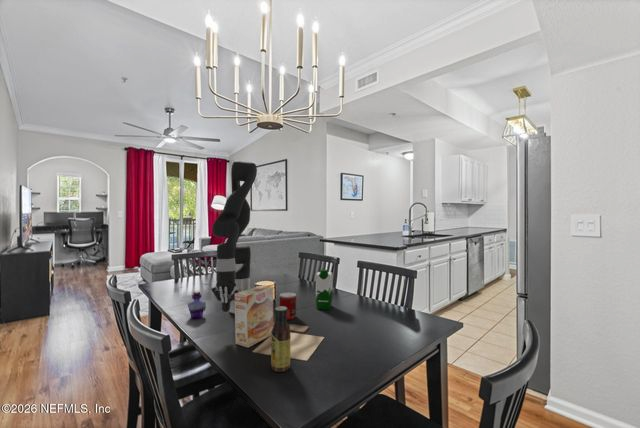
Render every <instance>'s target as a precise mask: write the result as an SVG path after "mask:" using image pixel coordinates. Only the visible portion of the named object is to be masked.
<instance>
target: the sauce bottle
mask: <svg viewBox="0 0 640 428" xmlns="http://www.w3.org/2000/svg"><path fill="white" fill-rule="evenodd" d="M274 316H275V317H274V326H273V329H272V332H271V355H270V365H271V369H272V370H273V371H274V372H278V373H281V372H286V371H288V370H289V369H290V367H291V359H290V346H291V336H290V332H291V331H290V326H289V323H288V322H287V321H288V320H287V307H284V306H280V305H279V306H276V307H275V308H274Z"/></svg>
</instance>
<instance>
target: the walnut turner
mask: <svg viewBox="0 0 640 428" xmlns="http://www.w3.org/2000/svg"><path fill="white" fill-rule="evenodd" d="M274 323H275V321H273V324H274ZM288 325H289V326H290V332H291V333H299V334H305V333H306V332H307V330H308V329H310V326H307V325H300V324H292V323H288Z"/></svg>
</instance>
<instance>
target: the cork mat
mask: <svg viewBox="0 0 640 428" xmlns="http://www.w3.org/2000/svg"><path fill="white" fill-rule="evenodd" d="M290 336H291V346H290V360H297V361H303V362H308V361H309V359H310V358H311V357H312V355H313V354H314V353H315V352H316V349H318V348H319V346H320V345H321V343H322V342H323V341H324V340H325V337H324V336H320V335H319V336H317V335H311V334H305V333H299V332H292V331H290ZM252 353H255V354H261V355H266V356H271V336H269V337H267V338H265V339H264V340H263V342H261V344H259V345H258V346H257V347H256V348H255V349H254V350H252Z"/></svg>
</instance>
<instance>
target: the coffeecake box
mask: <svg viewBox="0 0 640 428" xmlns="http://www.w3.org/2000/svg"><path fill="white" fill-rule="evenodd" d="M273 288H274V287H273V286H267V285H258V286H254V287H250V289H248V290H245V291H242V292H238V293H235V314H234V323H235V324H234V326H235V327H234V329H235V345H238V346H241V347H244V348H250V347H252V346H254V345H256V344H257V343H259V342H261V341H264V340H266V339H268V338H269V337H270V336H271V332H272V329H273V326H274V324H273V322H274V292H273V290H274V289H273Z"/></svg>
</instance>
